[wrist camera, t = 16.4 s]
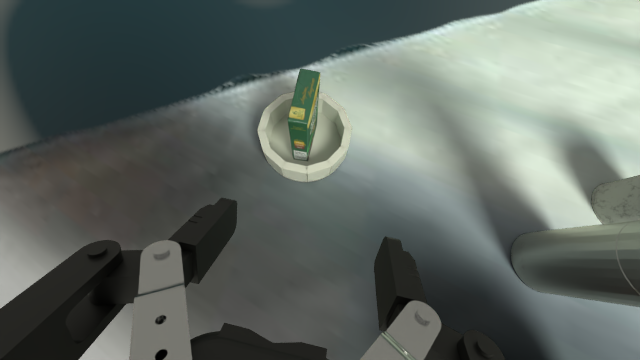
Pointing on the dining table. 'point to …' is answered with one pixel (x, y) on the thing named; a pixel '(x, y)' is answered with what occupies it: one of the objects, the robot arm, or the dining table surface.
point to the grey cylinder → (617, 201)
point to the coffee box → (304, 114)
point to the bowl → (325, 146)
